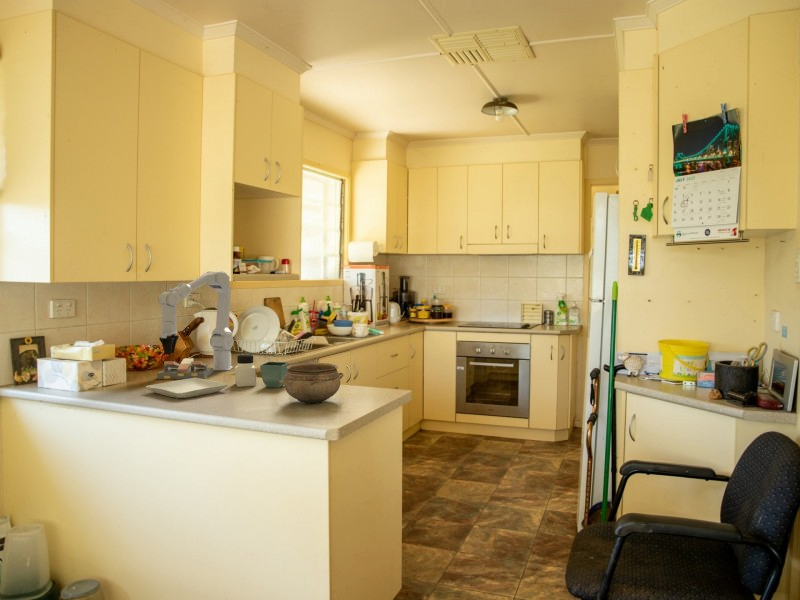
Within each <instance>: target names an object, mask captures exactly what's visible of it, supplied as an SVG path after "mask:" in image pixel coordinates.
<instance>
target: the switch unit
mask: <svg viewBox="0 0 800 600" xmlns="http://www.w3.org/2000/svg"><path fill="white" fill-rule="evenodd" d="M178 367H179V365H177V368H170V367H168V366H166V365H165V364H164V365H163V370H160V371H159V372H157V373H156V375H157V380H175V379H176V380H184V379H190V378H200V379H206V378H208V377H209V376H211V375H213V374H214V370H213V368H214V367H208V364H206V365H204V368H197V367H195V366H193V365H191V366H190V368H189V370H188V371H187V372H177V369H178Z"/></svg>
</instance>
